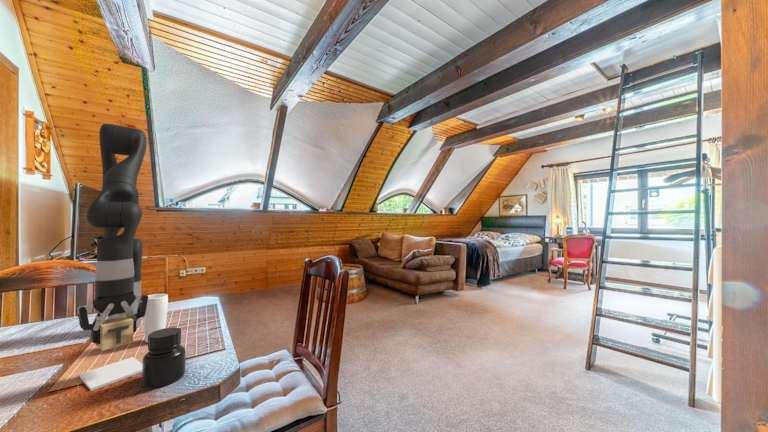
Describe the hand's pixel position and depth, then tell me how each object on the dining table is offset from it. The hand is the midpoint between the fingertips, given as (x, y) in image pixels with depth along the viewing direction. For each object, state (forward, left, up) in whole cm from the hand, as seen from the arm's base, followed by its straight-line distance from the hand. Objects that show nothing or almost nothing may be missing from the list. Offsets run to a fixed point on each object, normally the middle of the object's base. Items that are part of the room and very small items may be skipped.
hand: (114, 338), depth 75 cm
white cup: (-15, +14, -9) cm, 23 cm away
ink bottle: (+14, +6, -9) cm, 18 cm away
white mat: (0, 0, -9) cm, 9 cm away
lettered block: (0, 0, -1) cm, 1 cm away
